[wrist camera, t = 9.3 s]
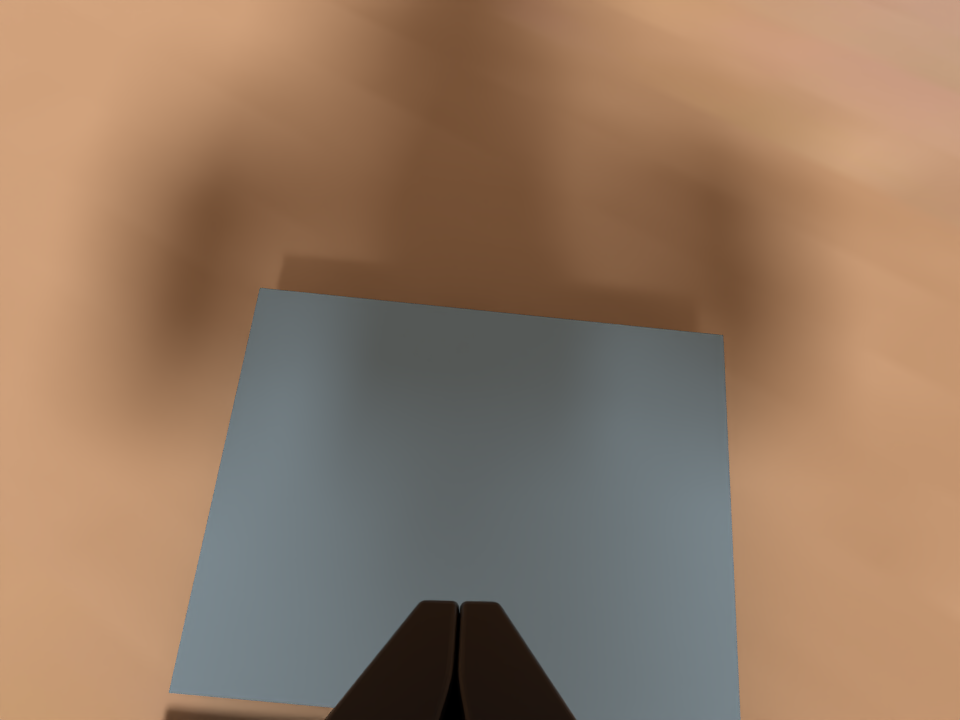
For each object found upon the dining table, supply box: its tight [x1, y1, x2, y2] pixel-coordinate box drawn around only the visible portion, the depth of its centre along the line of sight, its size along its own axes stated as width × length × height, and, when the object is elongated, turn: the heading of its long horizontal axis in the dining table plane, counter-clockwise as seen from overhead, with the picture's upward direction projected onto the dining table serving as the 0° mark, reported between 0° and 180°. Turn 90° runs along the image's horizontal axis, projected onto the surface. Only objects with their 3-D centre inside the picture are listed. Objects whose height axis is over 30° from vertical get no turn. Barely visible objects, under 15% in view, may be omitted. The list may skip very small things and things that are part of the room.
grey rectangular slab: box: [169, 288, 740, 720], centre depth 18 cm, size 2×12×10 cm
